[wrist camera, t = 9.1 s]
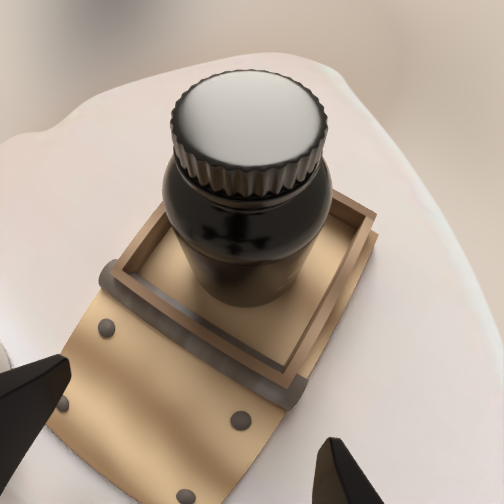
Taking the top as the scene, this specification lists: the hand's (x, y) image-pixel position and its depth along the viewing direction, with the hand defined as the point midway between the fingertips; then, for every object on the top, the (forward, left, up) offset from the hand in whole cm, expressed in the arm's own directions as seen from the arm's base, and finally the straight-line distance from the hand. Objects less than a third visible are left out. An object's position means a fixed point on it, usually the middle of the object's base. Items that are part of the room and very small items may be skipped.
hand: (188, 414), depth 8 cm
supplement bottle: (+8, +3, -9) cm, 12 cm away
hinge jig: (+2, +3, -10) cm, 10 cm away
